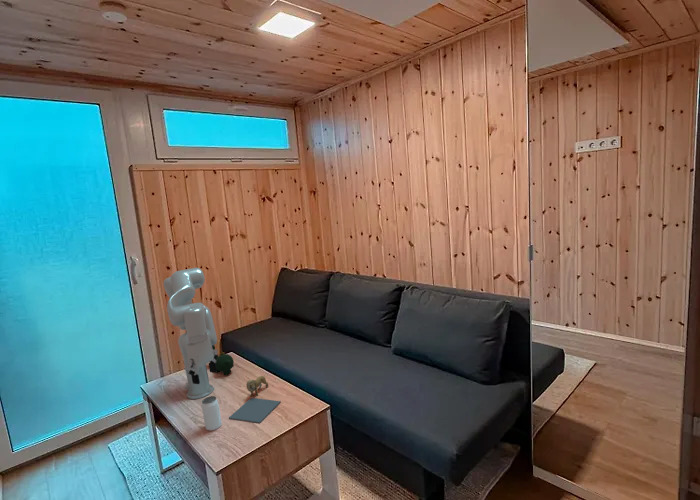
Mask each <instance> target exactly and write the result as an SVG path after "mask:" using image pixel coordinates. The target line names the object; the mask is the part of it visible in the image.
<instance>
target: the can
mask: <svg viewBox="0 0 700 500" xmlns="http://www.w3.org/2000/svg"><path fill="white" fill-rule="evenodd" d="M201 410H202V411H201V412H202V417H203V423H204V428H205V430H207V431H210V432H211V431H216V430H218V429H219V428H220V427H221V426H222V424H223V423H222V418H221V417H222V416H221V411H220V405H219V401H218V400H217V397H216V396H214V395H212V396H211V395H210V396H206V397H204V399H202V400H201Z"/></svg>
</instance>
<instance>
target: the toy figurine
mask: <svg viewBox="0 0 700 500" xmlns="http://www.w3.org/2000/svg"><path fill="white" fill-rule="evenodd" d="M212 348H213V349H214V350H216V346H215V345H213V346H212ZM234 362H235V361H234V358H233V357H232V355H230V354H228V353H223V354H218V353H217V358H216V363H215V364H216V369H217V372H216V373H217V374H220V373H222V375H223V376H229V375H230V374H231V373H232V370H231V369H232V368H234V366H235V364H234ZM216 373H215V374H216Z"/></svg>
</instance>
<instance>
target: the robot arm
mask: <svg viewBox="0 0 700 500" xmlns="http://www.w3.org/2000/svg"><path fill="white" fill-rule="evenodd" d="M205 280H206V278H205V274H204V272H203V270H202V269H201V268H200V267H193V268H187V269H181V270H177V271H175V272H173V273H172V274H171V276H169V277H167V278H165V279H164V280H163V288H164V291H165V293H166V295H167V296H168V298H169V299H168V301H167V304H166V311H167V315H168V320H169V322H170V324H171V325H172V326H175V327H177V326H178V328H179V329H180V330H183V331H185V333H183V334H181V335H180V336H179V337H178V339H177V340H178V342H177V343H178V346H179V349H180V352H181V355H182V359H183V363H184V371H185V375H186V379H187V382H186V383H185V386H183V387H184V389H186V390H187V392H186V398H188V399H190V400H198V399H201V398H206V397H208V395H210V394H211V393H212V392H214V390H215V389H214V385H213V384H210V380H209V375H208V374H209V373H213V374H214V373H215V374H216V372H217V369H216V364H215V363H216V358H217V354H218V351H219V350H218V349H215V350H214V349H213V348H212V346H213V345H214V346H215V345H216V344H217V343H218V336H217V332H216V327H215V324H214V319H213V315H212V312H211V310H210V308H209V307H208V306H206V305H205V304H204V303H203V302H195V303H193V300H192V299H194V297H195V295H196V290H197V289H201V288H202V287H203V285H204V284H205ZM207 364H208V367H209V368H207ZM208 369H209V373H208Z"/></svg>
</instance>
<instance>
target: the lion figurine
mask: <svg viewBox="0 0 700 500" xmlns="http://www.w3.org/2000/svg"><path fill="white" fill-rule="evenodd" d="M262 385H266V386H265V388H267V389H268V387H269V383H268V382H267V380H266V377H265V376H264V375H260V376H258V377H257V378H256V379H255V380H254V379H249V380H247V382H246V389H247V391H248V392H250V393H251V394H250V397H253V396H254V392H255V397H259V393H258V390H259V391H260V390H261V388H262Z"/></svg>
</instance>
